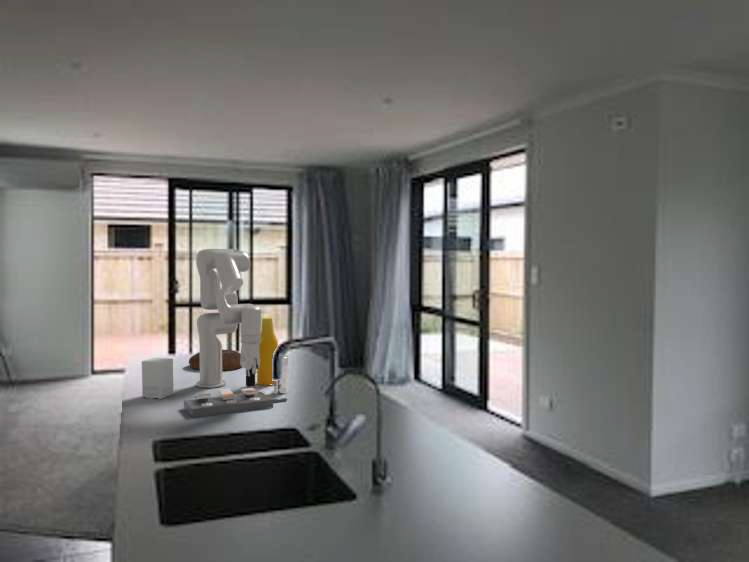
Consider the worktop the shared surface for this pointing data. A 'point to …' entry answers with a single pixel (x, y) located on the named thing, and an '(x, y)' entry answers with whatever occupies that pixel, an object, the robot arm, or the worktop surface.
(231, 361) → the bread
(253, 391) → the outlet rocker
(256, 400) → the power strip
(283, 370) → the beer glass
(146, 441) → the worktop surface
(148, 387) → the supplement box
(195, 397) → the rocker outlet
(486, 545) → the worktop surface
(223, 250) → the robot arm
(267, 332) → the beer bottle
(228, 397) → the outlet rocker
